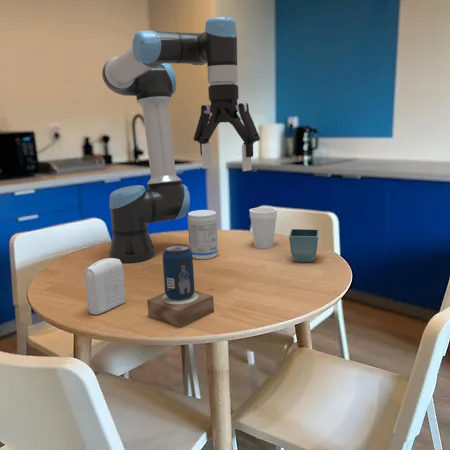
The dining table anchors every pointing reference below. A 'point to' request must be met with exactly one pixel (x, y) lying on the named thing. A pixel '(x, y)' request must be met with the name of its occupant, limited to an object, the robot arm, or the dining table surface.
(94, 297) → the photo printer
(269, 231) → the foam cup
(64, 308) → the dining table surface
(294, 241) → the flower pot
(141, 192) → the robot arm
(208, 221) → the supplement tub
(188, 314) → the plinth
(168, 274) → the soda can
